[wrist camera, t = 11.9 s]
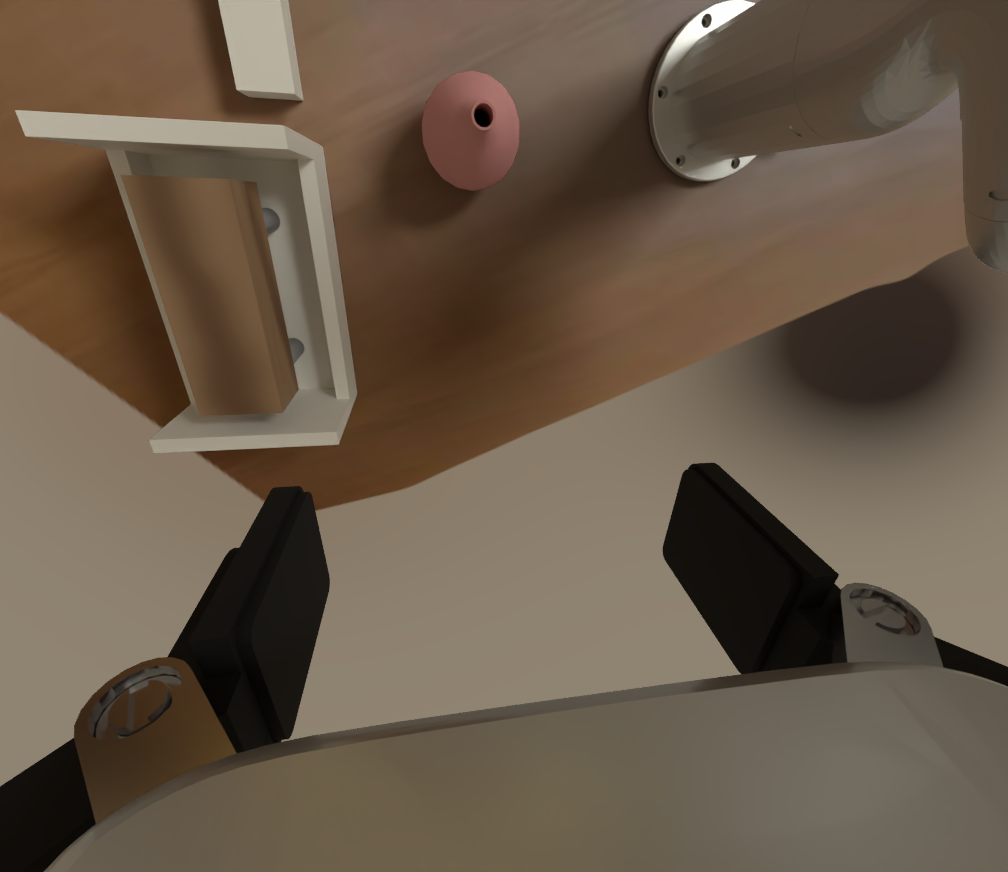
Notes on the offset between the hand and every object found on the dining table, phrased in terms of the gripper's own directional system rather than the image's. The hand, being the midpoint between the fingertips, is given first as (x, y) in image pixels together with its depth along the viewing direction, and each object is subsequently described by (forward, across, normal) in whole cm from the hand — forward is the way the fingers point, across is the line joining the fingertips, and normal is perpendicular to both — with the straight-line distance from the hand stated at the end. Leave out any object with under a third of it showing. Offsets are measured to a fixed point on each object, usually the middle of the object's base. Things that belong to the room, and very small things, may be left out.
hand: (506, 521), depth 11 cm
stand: (+36, +17, 0) cm, 40 cm away
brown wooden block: (+30, +17, 0) cm, 34 cm away
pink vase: (+36, -2, -12) cm, 38 cm away
